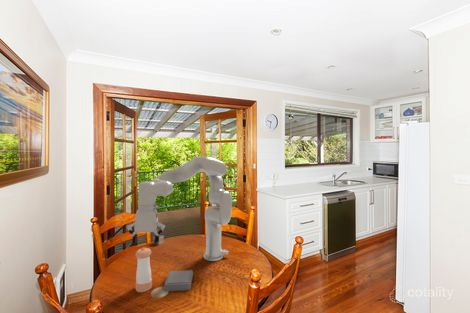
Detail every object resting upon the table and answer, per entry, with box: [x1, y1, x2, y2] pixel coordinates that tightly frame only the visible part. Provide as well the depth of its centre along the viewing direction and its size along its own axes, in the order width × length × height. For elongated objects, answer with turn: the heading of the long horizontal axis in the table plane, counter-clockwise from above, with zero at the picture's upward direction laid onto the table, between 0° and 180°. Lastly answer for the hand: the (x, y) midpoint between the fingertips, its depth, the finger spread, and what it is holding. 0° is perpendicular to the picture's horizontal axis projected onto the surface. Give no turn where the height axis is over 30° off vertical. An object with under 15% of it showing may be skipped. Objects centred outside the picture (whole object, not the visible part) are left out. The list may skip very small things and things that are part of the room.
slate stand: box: [163, 269, 194, 292], centre depth 108 cm, size 12×12×3 cm
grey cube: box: [152, 234, 165, 246], centre depth 156 cm, size 5×5×5 cm
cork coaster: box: [150, 286, 170, 299], centre depth 101 cm, size 8×8×1 cm
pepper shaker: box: [135, 247, 153, 293], centre depth 104 cm, size 7×7×19 cm
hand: (145, 243), depth 103 cm, fingers open, 9 cm apart
